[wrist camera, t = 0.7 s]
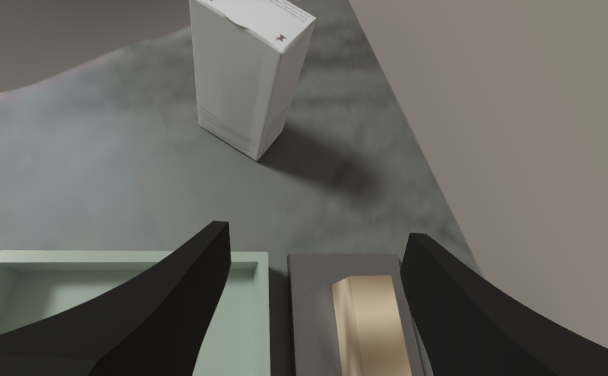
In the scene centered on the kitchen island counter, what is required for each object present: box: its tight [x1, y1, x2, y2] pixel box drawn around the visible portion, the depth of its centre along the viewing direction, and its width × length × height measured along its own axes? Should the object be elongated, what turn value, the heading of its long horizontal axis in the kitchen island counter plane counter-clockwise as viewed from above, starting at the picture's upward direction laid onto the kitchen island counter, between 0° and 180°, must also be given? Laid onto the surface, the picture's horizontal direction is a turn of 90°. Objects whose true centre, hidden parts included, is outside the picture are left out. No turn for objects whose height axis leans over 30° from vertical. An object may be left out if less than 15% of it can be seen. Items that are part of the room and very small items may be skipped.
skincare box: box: [189, 0, 316, 161], centre depth 28 cm, size 8×6×15 cm
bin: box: [0, 250, 270, 376], centre depth 21 cm, size 13×19×4 cm
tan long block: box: [332, 275, 412, 376], centre depth 24 cm, size 12×4×4 cm, turn 4°
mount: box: [287, 254, 424, 376], centre depth 25 cm, size 18×12×4 cm, turn 4°
